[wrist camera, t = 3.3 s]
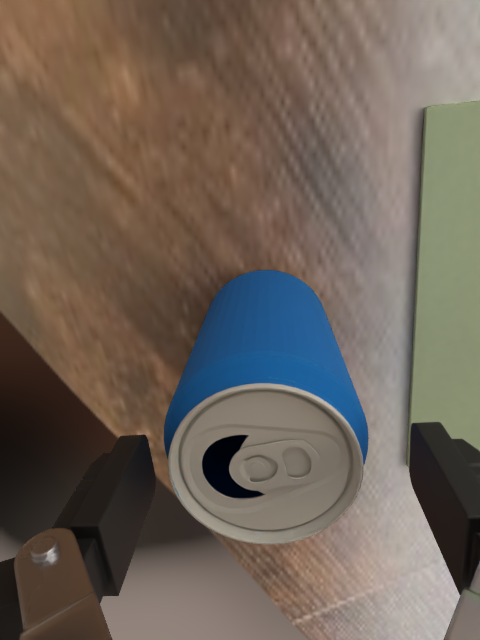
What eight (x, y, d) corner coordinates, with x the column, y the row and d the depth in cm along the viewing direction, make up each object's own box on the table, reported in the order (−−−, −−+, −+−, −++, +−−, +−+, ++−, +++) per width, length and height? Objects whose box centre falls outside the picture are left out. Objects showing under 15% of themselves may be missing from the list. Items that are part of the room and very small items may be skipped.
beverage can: (194, 280, 23) (122, 395, 11) (313, 254, 22) (362, 350, 11) (223, 384, 25) (188, 566, 14) (333, 364, 24) (391, 541, 13)
